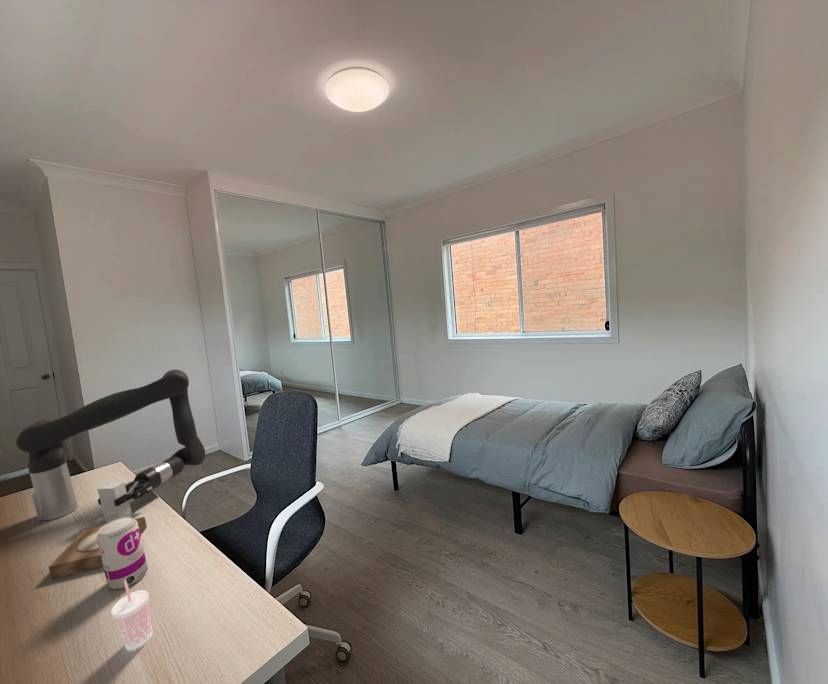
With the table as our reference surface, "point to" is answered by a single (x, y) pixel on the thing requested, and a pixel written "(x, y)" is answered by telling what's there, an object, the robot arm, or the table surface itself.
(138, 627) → the beverage cup
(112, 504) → the skincare box
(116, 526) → the supplement can
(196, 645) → the table surface
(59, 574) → the block
